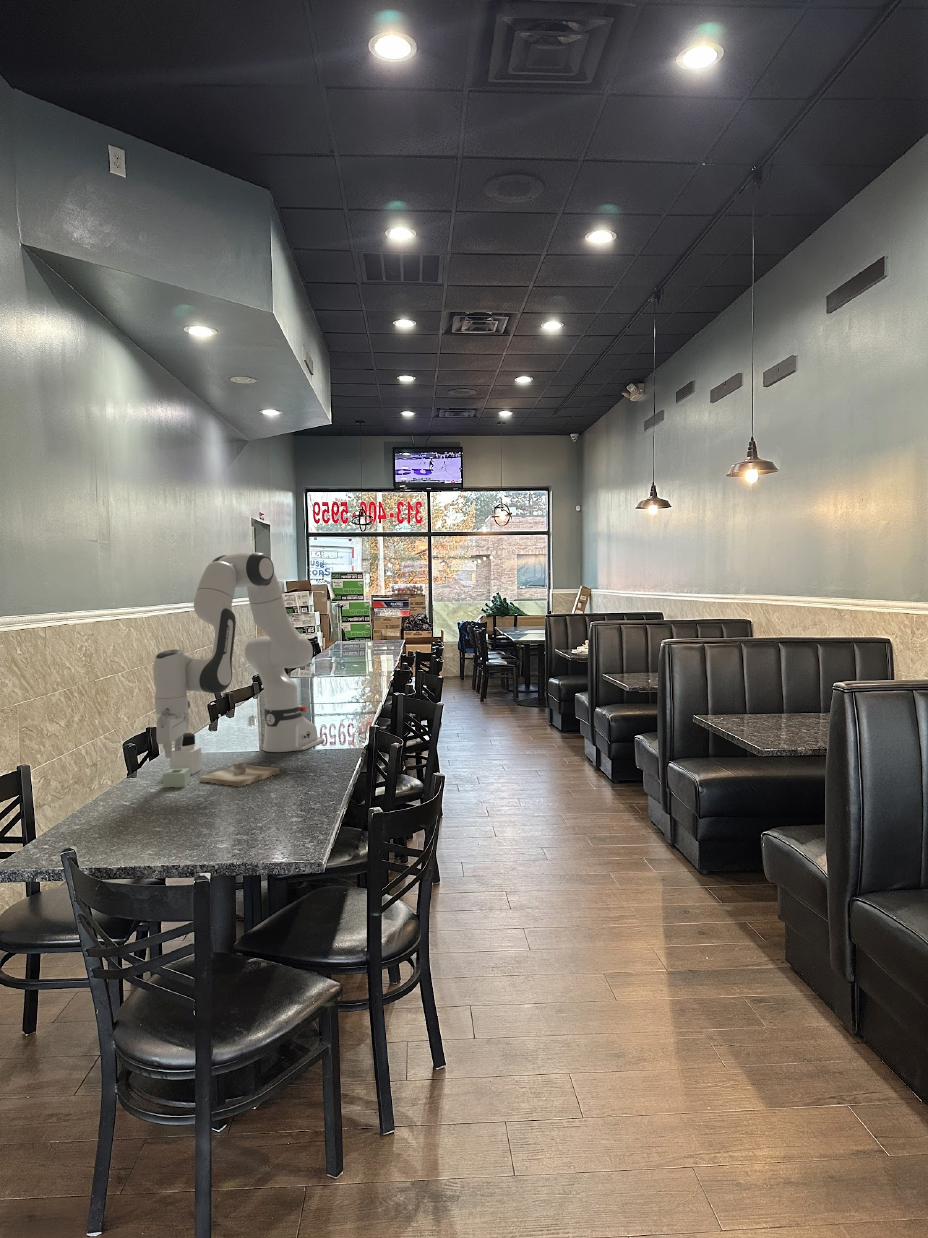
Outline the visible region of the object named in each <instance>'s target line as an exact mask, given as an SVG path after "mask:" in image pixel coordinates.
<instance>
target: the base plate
mask: <svg viewBox="0 0 928 1238" xmlns="http://www.w3.org/2000/svg"><path fill="white" fill-rule="evenodd" d="M276 774H277V775H279V774H280V768H276V767H270V766H269V767H267V766H259V765H258V766H257V765H250V764H246V761H238V762H234V763H233V766H230V767H227V768H224V769H221V770H217V771H215V772H211V773H207V774H204V775H200V776H199V778H200V779H199V780H200V783H206V782H211V783H210V784H213V783H216V784H215V785H221V784H224V785H223V786H228V785H234V786H233V787H236V786H238V787H237V788H241V787H243V785H244V786H247V785H250V784H253V783H255V782H259V781H262V780H265V779H267V777H268V778H271V777H273V776H272V775H274V776H276ZM270 776H271V777H270ZM261 779H262V780H261ZM258 780H259V781H258ZM252 782H253V783H252ZM246 784H247V785H246Z"/></svg>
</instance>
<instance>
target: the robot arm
mask: <svg viewBox="0 0 928 1238" xmlns="http://www.w3.org/2000/svg"><path fill="white" fill-rule="evenodd" d="M279 583H280V582H279V580H278V578H277V575H276V573H275V567H274V563H273V561H272V559H271V558H270V556H268V555H267V554H266V553H263V552H255V551H254V552H238V553H233V554H228V555H227V554H224V555H220V556H218V557H215V558H214V559H213V560H212V562H210V563H209V564H208V565H207V566H206V568H205V570H204V572H203V574H202V575H201V578H200V581H199V583H198V586H197V589H196V592H195V596H194V599H193V609H194V612H195V614H196V615H197V617H198V618H199V619H201V620H202V621H203V622H205V623H207V624H209V625H211V626H213V629H214V639H213V647H212V654H211V656H210V657H209V658H207V659H199V658H198V659H197V658H193V657H190V656H188V655H186V654H185V653H183V651H182V650H181V649H170V650H163V651H161V652H159V653H157V654H156V655H155V658H154V661H153V684H154V687H155V693H154V694H155V695H154V709H155V714H156V715H159V716H158V717H157V719H156V727H155V728H156V730H155V731H156V733H155V734H156V736H155V737H156V742H157V745H162V747H163V750H164V753H165V754H164V756H165V758H166V759H170V758H171V757H172V756H173V751H174V750H175V751H180V750H182V741H183V734H185V733H188V730H189V724H190V723H189V720H190V719H189V717H190V715H189V714H190V710H189V709H191V701H190V700H188V692H195V693H196V692H198V693H208V694H209V693H210V694H215V695H219V694H221V693H223V692H225V691H226V690H227V689H228V688H229V686H230V685H231V683H232V680H233V655H234V645H235V637H236V626H237V624H236V623H237V621H236V616H235V615H236V614H235V613H234V611H233V609H232V607H233V601H234V596H235V593H236V588H246V591H247V596H248V603H249V606H250V610H251V615H252V617H253V622H254V624H255V625H256V627H258V628H259V629H260V630H262V631H264V633H266V634H267V636H266V635H265V636H259V637H255V638H252V639H250V640H249V641H247V644H246V645H245V649H244V656H245V660H246V661H247V662H248V664H250V665H251V666H252V668H254V669H255V670H256V672H257V674H258V676H259V678H260V680H261V683H262V687H263V693H264V694H263V696H264V705H265V708H264V720H265V725H264V741H263V744H262V747H263V748H262V751H264V752H269V753H284V752H285V753H286V752H293V751H305V750H307V749H310V748H312V747H315V746H316V745H320V744H321V743H324V742H325V741H326V740H325V738H324V737H322V736H318V730H317V726H316V725H315V724H314V723H312V722H311V721H310V720H308V719H307V718H305V716H303V713H307V710H308V707H307V706H306V705H301V706H300V705H299V700H298V686H297V683H296V682H295V681H294V680H293V679H291V678H290V677H289V676H288V674H287V673H286V671H285V669H296V668H301V667H305V666H307V665H308V664H310V662H311V661H312V658H313V656H314V655H313V654H314V650H313V649H314V648H313V646H312V643H311V642H310V640H309V639H307V638H306V637H305V636H303V635H302V634H301V633H300V632H299V631H298V630H297V629H296V628H295V626H294V625H293V623H292V621H291V619H290V617H289V615H288V613H287V612H288V611H287V608H286V604H285V600H284V597H283V593H282V589H281V586H280V584H279ZM174 740H175V744H174V750H173V747H172V746H173V743H174Z"/></svg>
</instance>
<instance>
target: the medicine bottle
mask: <svg viewBox="0 0 928 1238" xmlns="http://www.w3.org/2000/svg"><path fill="white" fill-rule="evenodd" d="M173 743H174V745H175V740H174V741H173ZM172 751H173V756H172V757H171V758H169V766H170V767H169V769H184V768H190V774H192V775H194V774H196V773H197V772H200V771H201V770H203V761H202V760H203V759H202V758H203V757H202V747H201V746H196V735H195V734H194V733H193V732H192V733H191V732H186V733H185V734H183V741H182V750H180V751H175V749H174V750H172Z"/></svg>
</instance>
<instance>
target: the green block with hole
mask: <svg viewBox="0 0 928 1238" xmlns="http://www.w3.org/2000/svg"><path fill="white" fill-rule="evenodd" d="M190 781H191V775H190V768H184V769H170V768H169V769H168V770H166V771H165V772H164V773H162V782H163V783H162V784H163V789H166V788H165V787H175V788H185V787H186V786H188V785H189V784H188V783H189V782H190ZM190 783H191V782H190Z"/></svg>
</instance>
